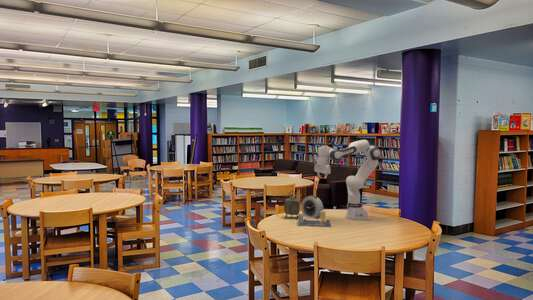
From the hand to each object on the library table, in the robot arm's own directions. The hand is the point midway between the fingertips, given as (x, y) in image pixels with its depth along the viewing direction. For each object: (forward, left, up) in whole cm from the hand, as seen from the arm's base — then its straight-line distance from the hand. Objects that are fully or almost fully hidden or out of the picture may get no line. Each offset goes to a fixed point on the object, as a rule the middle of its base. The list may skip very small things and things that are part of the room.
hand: (322, 177), depth 354 cm
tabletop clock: (+27, -1, -39) cm, 47 cm away
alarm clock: (+8, -11, -39) cm, 41 cm away
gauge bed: (+7, +19, -38) cm, 43 cm away
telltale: (+1, +25, -37) cm, 44 cm away
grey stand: (+6, +21, -37) cm, 43 cm away
